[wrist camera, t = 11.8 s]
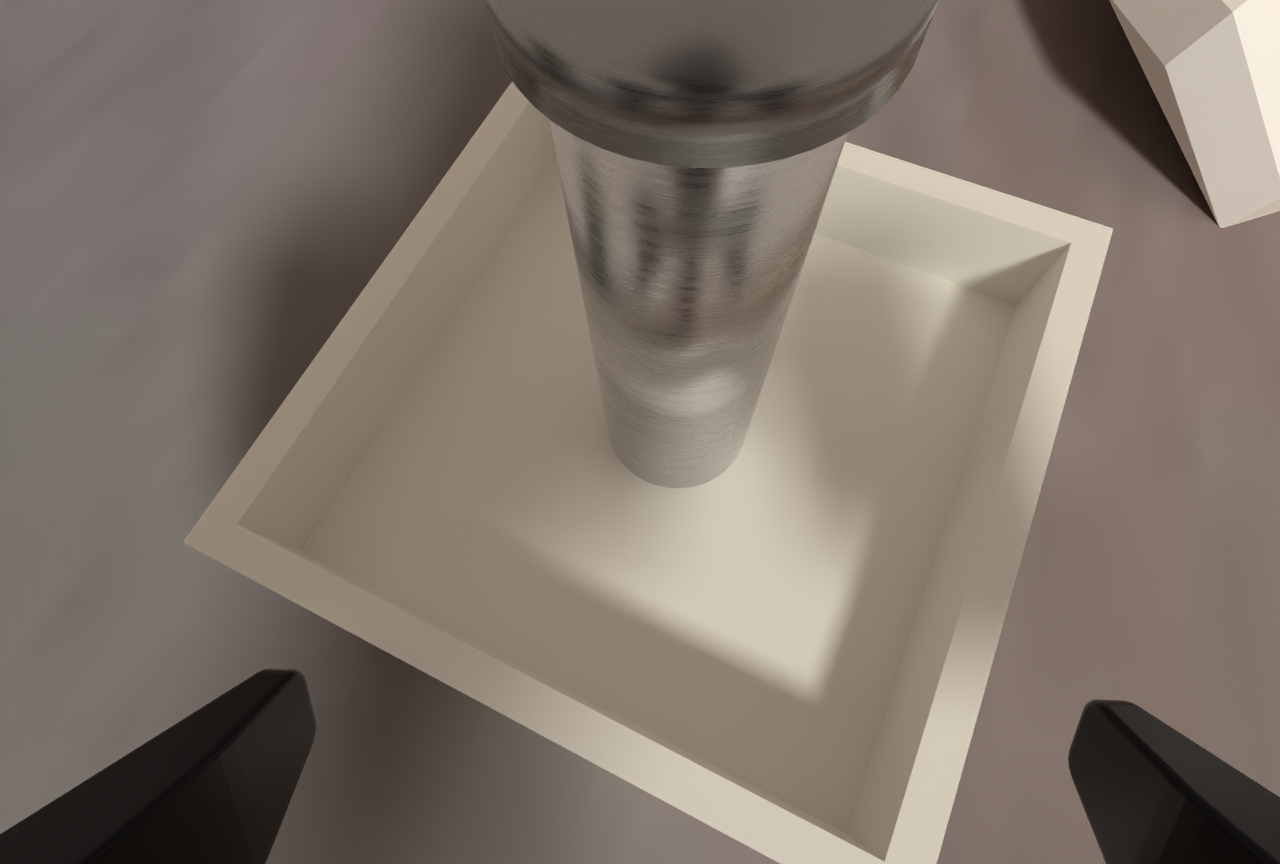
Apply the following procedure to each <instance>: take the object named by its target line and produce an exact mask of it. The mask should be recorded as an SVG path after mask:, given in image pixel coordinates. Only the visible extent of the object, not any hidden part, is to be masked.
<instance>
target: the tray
mask: <svg viewBox="0 0 1280 864" xmlns="http://www.w3.org/2000/svg"><path fill="white" fill-rule="evenodd" d="M1112 231H1113V228H1110V227H1106V226H1103V225H1100V224H1097V223H1094V222H1091V221H1088V220H1085V219H1082V218H1079V217H1076V216H1073V215H1069V214H1066V213H1063V212H1060V211H1057V210H1054V209H1051V208H1048V207H1045V206H1042V205H1039V204H1035V203H1032V202H1029V201H1026V200H1023V199H1020V198H1017V197H1014V196H1011V195H1008V194H1005V193H1001V192H998V191H995V190H992V189H989V188H986V187H983V186H980V185H977V184H974V183H971V182H968V181H964V180H961V179H958V178H955V177H952V176H949V175H946V174H943V173H940V172H937V171H934V170H930V169H927V168H924V167H921V166H918V165H915V164H912V163H909V162H906V161H903V160H900V159H896V158H893V157H890V156H887V155H884V154H881V153H878V152H875V151H872V150H869V149H866V148H863V147H859V146H856V145H853V144H850V143H847V142H845V143H844V146H843V149H842V152H841V155H840V158H839V161H838V164H837V167H836V170H835V173H834V176H833V179H832V182H831V185H830V188H829V191H828V194H827V197H826V200H825V203H824V206H823V209H822V212H821V215H820V218H819V221H818V224H817V227H816V230H815V233H814V235H813V238H812V241H811V244H810V247H809V250H808V253H807V256H806V259H805V262H804V265H803V268H802V271H801V274H800V277H799V280H798V283H797V286H796V289H795V292H794V295H793V298H792V301H791V304H790V307H789V310H788V313H787V316H786V319H785V322H784V325H783V328H782V331H781V334H780V337H779V340H778V343H777V346H776V348H775V351H774V354H773V357H772V360H771V363H770V366H769V369H768V372H767V375H766V378H765V381H764V384H763V387H762V390H761V393H760V396H759V399H758V402H757V405H756V408H755V411H754V414H753V417H752V420H751V423H750V426H749V429H748V432H747V435H746V438H745V441H744V444H743V446H742V448H741V451H740V453H739V454H738V456H737V458H736V459H735V461H734V462H733V463H732V464H731V466H730V467H729V468H728V469H727V470H726V471H724V472H723V473H722V474H721V475H719V476H718V477H716V478H715V479H713V480H711V481H709V482H707V483H704V484H701V485H698V486H694V487H689V488H667V487H661V486H658V485H654V484H651V483H649V482H647V481H644V480H643V479H641V478H639V477H637V476H636V475H635V474H633V473H632V472H631V471H630V470H629V469H628V468H627V467H626V466H625V465H624V464H623V463H622V462H621V461H620V459H619V458H618V456H617V455H616V453H615V451H614V449H613V447H612V444H611V442H610V438H609V433H608V428H607V423H606V418H605V412H604V407H603V402H602V396H601V391H600V386H599V381H598V375H597V370H596V365H595V359H594V354H593V349H592V343H591V338H590V333H589V328H588V322H587V317H586V312H585V306H584V301H583V296H582V290H581V285H580V280H579V275H578V269H577V264H576V259H575V253H574V248H573V243H572V237H571V232H570V227H569V222H568V216H567V211H566V206H565V200H564V195H563V190H562V184H561V179H560V174H559V169H558V163H557V158H556V153H555V147H554V142H553V137H552V131H551V126H550V121H549V119H548V118H547V117H546V116H545V115H544V114H542V113H541V112H540V111H539V110H538V109H536V108H535V107H534V106H533V105H532V104H531V103H530V102H529V101H528V100H527V98H526V97H525V96H524V95H523V94H522V93H521V92H520V91H519V90H518V88H517V87H516V86H515V84H514V82H513V81H512V82H511V84H510V85H509V86H508V88H507V89H506V91H505V92H504V93H503V95H502V96H501V98H500V99H499V100H498V102H497V103H496V105H495V106H494V107H493V109H492V110H491V112H490V113H489V114H488V116H487V117H486V119H485V120H484V121H483V123H482V124H481V126H480V127H479V128H478V130H477V131H476V133H475V134H474V135H473V137H472V138H471V140H470V141H469V142H468V144H467V145H466V147H465V148H464V149H463V151H462V152H461V154H460V155H459V156H458V158H457V159H456V161H455V162H454V163H453V165H452V166H451V168H450V169H449V170H448V172H447V173H446V175H445V176H444V177H443V179H442V180H441V182H440V183H439V184H438V186H437V187H436V189H435V190H434V191H433V193H432V194H431V196H430V197H429V198H428V200H427V201H426V203H425V204H424V205H423V207H422V208H421V210H420V211H419V212H418V214H417V215H416V217H415V218H414V219H413V221H412V222H411V224H410V225H409V226H408V228H407V229H406V231H405V232H404V233H403V235H402V236H401V238H400V239H399V240H398V242H397V243H396V245H395V246H394V247H393V249H392V250H391V252H390V253H389V254H388V256H387V257H386V259H385V260H384V261H383V263H382V264H381V266H380V267H379V268H378V270H377V271H376V273H375V274H374V275H373V277H372V278H371V280H370V281H369V282H368V284H367V285H366V287H365V288H364V289H363V291H362V292H361V294H360V295H359V296H358V298H357V299H356V301H355V302H354V303H353V305H352V306H351V308H350V309H349V310H348V312H347V313H346V315H345V316H344V317H343V319H342V320H341V322H340V323H339V324H338V326H337V327H336V329H335V330H334V331H333V333H332V334H331V336H330V337H329V338H328V340H327V341H326V343H325V344H324V345H323V347H322V348H321V350H320V351H319V352H318V354H317V355H316V357H315V358H314V359H313V361H312V362H311V364H310V365H309V366H308V368H307V369H306V371H305V372H304V373H303V375H302V376H301V378H300V379H299V380H298V382H297V383H296V385H295V386H294V387H293V389H292V390H291V392H290V393H289V394H288V396H287V397H286V399H285V400H284V401H283V403H282V404H281V406H280V407H279V408H278V410H277V411H276V413H275V414H274V415H273V417H272V418H271V420H270V421H269V422H268V424H267V425H266V427H265V428H264V429H263V431H262V432H261V434H260V435H259V436H258V438H257V439H256V441H255V442H254V443H253V445H252V446H251V448H250V449H249V450H248V452H247V453H246V455H245V456H244V457H243V459H242V460H241V462H240V463H239V464H238V466H237V467H236V469H235V470H234V471H233V473H232V474H231V476H230V477H229V478H228V480H227V481H226V483H225V484H224V485H223V487H222V488H221V490H220V491H219V492H218V494H217V495H216V497H215V498H214V499H213V501H212V502H211V504H210V505H209V506H208V508H207V509H206V511H205V512H204V513H203V515H202V516H201V518H200V519H199V520H198V522H197V523H196V525H195V526H194V527H193V529H192V530H191V532H190V533H189V534H188V536H187V537H186V539H185V540H184V541H183V543H185V544H187V545H188V546H190V547H192V548H194V549H196V550H198V551H200V552H201V553H203V554H205V555H207V556H209V557H211V558H213V559H214V560H216V561H218V562H220V563H222V564H224V565H226V566H228V567H229V568H231V569H233V570H235V571H237V572H239V573H241V574H242V575H244V576H246V577H248V578H250V579H252V580H254V581H255V582H257V583H259V584H261V585H263V586H265V587H267V588H268V589H270V590H272V591H274V592H276V593H278V594H280V595H281V596H283V597H285V598H287V599H289V600H291V601H293V602H295V603H296V604H298V605H300V606H302V607H304V608H306V609H308V610H309V611H311V612H313V613H315V614H317V615H319V616H321V617H322V618H324V619H326V620H328V621H330V622H332V623H334V624H335V625H337V626H339V627H341V628H343V629H345V630H347V631H348V632H350V633H352V634H354V635H356V636H358V637H360V638H362V639H363V640H365V641H367V642H369V643H371V644H373V645H375V646H376V647H378V648H380V649H382V650H384V651H386V652H388V653H389V654H391V655H393V656H395V657H397V658H399V659H401V660H402V661H404V662H406V663H408V664H410V665H412V666H414V667H415V668H417V669H419V670H421V671H423V672H425V673H427V674H429V675H430V676H432V677H434V678H436V679H438V680H440V681H442V682H443V683H445V684H447V685H449V686H451V687H453V688H455V689H456V690H458V691H460V692H462V693H464V694H466V695H468V696H469V697H471V698H473V699H475V700H477V701H479V702H481V703H482V704H484V705H486V706H488V707H490V708H492V709H494V710H496V711H497V712H499V713H501V714H503V715H505V716H507V717H509V718H510V719H512V720H514V721H516V722H518V723H520V724H522V725H523V726H525V727H527V728H529V729H531V730H533V731H535V732H536V733H538V734H540V735H542V736H544V737H546V738H548V739H549V740H551V741H553V742H555V743H557V744H559V745H561V746H563V747H564V748H566V749H568V750H570V751H572V752H574V753H576V754H577V755H579V756H581V757H583V758H585V759H587V760H589V761H590V762H592V763H594V764H596V765H598V766H600V767H602V768H603V769H605V770H607V771H609V772H611V773H613V774H615V775H616V776H618V777H620V778H622V779H624V780H626V781H628V782H630V783H631V784H633V785H635V786H637V787H639V788H641V789H643V790H644V791H646V792H648V793H650V794H652V795H654V796H656V797H657V798H659V799H661V800H663V801H665V802H667V803H669V804H670V805H672V806H674V807H676V808H678V809H680V810H682V811H684V812H685V813H687V814H689V815H691V816H693V817H695V818H697V819H698V820H700V821H702V822H704V823H706V824H708V825H710V826H711V827H713V828H715V829H717V830H719V831H721V832H723V833H724V834H726V835H728V836H730V837H732V838H734V839H736V840H737V841H739V842H741V843H743V844H745V845H747V846H749V847H751V848H752V849H754V850H756V851H758V852H760V853H762V854H764V855H765V856H767V857H769V858H771V859H773V860H775V861H777V862H778V863H780V864H936V863H937V860H938V856H939V853H940V849H941V845H942V842H943V838H944V835H945V831H946V827H947V824H948V820H949V817H950V813H951V810H952V806H953V802H954V799H955V795H956V792H957V788H958V784H959V781H960V777H961V774H962V770H963V766H964V763H965V759H966V756H967V752H968V748H969V745H970V741H971V738H972V734H973V730H974V727H975V723H976V720H977V716H978V713H979V709H980V705H981V702H982V698H983V695H984V691H985V687H986V684H987V680H988V677H989V673H990V669H991V666H992V662H993V659H994V655H995V651H996V648H997V644H998V641H999V637H1000V634H1001V630H1002V626H1003V623H1004V619H1005V616H1006V612H1007V608H1008V605H1009V601H1010V598H1011V594H1012V590H1013V587H1014V583H1015V580H1016V576H1017V572H1018V569H1019V565H1020V562H1021V558H1022V554H1023V551H1024V547H1025V544H1026V540H1027V537H1028V533H1029V529H1030V526H1031V522H1032V519H1033V515H1034V511H1035V508H1036V504H1037V501H1038V497H1039V493H1040V490H1041V486H1042V483H1043V479H1044V475H1045V472H1046V468H1047V465H1048V461H1049V457H1050V454H1051V450H1052V447H1053V443H1054V440H1055V436H1056V432H1057V429H1058V425H1059V422H1060V418H1061V414H1062V411H1063V407H1064V404H1065V400H1066V396H1067V393H1068V389H1069V386H1070V382H1071V378H1072V375H1073V371H1074V368H1075V364H1076V360H1077V357H1078V353H1079V350H1080V346H1081V343H1082V339H1083V335H1084V332H1085V328H1086V325H1087V321H1088V317H1089V314H1090V310H1091V307H1092V303H1093V299H1094V296H1095V292H1096V289H1097V285H1098V281H1099V278H1100V274H1101V271H1102V267H1103V263H1104V260H1105V256H1106V253H1107V249H1108V246H1109V242H1110V238H1111V235H1112Z"/></svg>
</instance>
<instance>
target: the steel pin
mask: <svg viewBox="0 0 1280 864" xmlns="http://www.w3.org/2000/svg"><path fill="white" fill-rule="evenodd" d="M484 2H485V6H486V10H487V14H488V18H489V22H490V26H491V30H492V34H493V38H494V42H495V46H496V49H497V52H498V54H499V57H500V59H501V61H502V64H503V66H504V68H505V70H506V72H507V73H508V75H509V76H510V78H511V79H512V81H513V82H514V84H515V86H516V87H517V88H518V90H519V91H520V92H521V93H522V94H523V95H524V96H525V97H526V98H527V100H528V101H529V102H530V103H531V104H532V105H533V106H534V107H535V108H536V109H538V110H539V111H540V112H541V113H542V114H544V115H545V116H546V117H547V118H548V119H549V121H550V126H551V131H552V137H553V142H554V147H555V153H556V158H557V163H558V169H559V174H560V179H561V184H562V190H563V195H564V200H565V206H566V211H567V216H568V222H569V227H570V232H571V237H572V243H573V248H574V253H575V259H576V264H577V269H578V275H579V280H580V285H581V290H582V296H583V301H584V306H585V312H586V317H587V322H588V328H589V333H590V338H591V343H592V349H593V354H594V359H595V365H596V370H597V375H598V381H599V386H600V391H601V396H602V402H603V407H604V412H605V418H606V423H607V428H608V433H609V438H610V442H611V444H612V447H613V449H614V451H615V453H616V455H617V456H618V458H619V459H620V461H621V462H622V463H623V464H624V465H625V466H626V467H627V468H628V469H629V470H630V471H631V472H632V473H633V474H635V475H636V476H637V477H639V478H641V479H643V480H644V481H647V482H649V483H651V484H654V485H658V486H661V487H667V488H689V487H694V486H698V485H701V484H704V483H707V482H709V481H711V480H713V479H715V478H716V477H718V476H719V475H721V474H722V473H723V472H724V471H726V470H727V469H728V468H729V467H730V466H731V464H732V463H733V462H734V461H735V459H736V458H737V456H738V454H739V453H740V451H741V448H742V446H743V444H744V441H745V438H746V435H747V432H748V429H749V426H750V423H751V420H752V417H753V414H754V411H755V408H756V405H757V402H758V399H759V396H760V393H761V390H762V387H763V384H764V381H765V378H766V375H767V372H768V369H769V366H770V363H771V360H772V357H773V354H774V351H775V348H776V346H777V343H778V340H779V337H780V334H781V331H782V328H783V325H784V322H785V319H786V316H787V313H788V310H789V307H790V304H791V301H792V298H793V295H794V292H795V289H796V286H797V283H798V280H799V277H800V274H801V271H802V268H803V265H804V262H805V259H806V256H807V253H808V250H809V247H810V244H811V241H812V238H813V235H814V233H815V230H816V227H817V224H818V221H819V218H820V215H821V212H822V209H823V206H824V203H825V200H826V197H827V194H828V191H829V188H830V185H831V182H832V179H833V176H834V173H835V170H836V167H837V164H838V161H839V158H840V155H841V152H842V149H843V146H844V143H845V140H846V137H847V134H848V132H849V131H851V130H852V129H854V128H855V127H857V126H859V125H860V124H862V123H863V122H865V121H866V120H867V119H868V118H870V117H871V116H872V115H873V114H874V113H876V112H877V111H878V110H879V109H880V108H882V107H883V106H884V105H885V104H886V103H887V101H888V100H889V99H890V98H891V97H892V96H893V95H894V94H895V92H896V91H897V90H898V89H899V88H900V86H901V85H902V83H903V82H904V80H905V79H906V77H907V75H908V74H909V72H910V71H911V69H912V67H913V65H914V62H915V60H916V57H917V55H918V52H919V50H920V48H921V45H922V43H923V40H924V38H925V35H926V33H927V30H928V28H929V25H930V23H931V20H932V18H933V15H934V13H935V10H936V8H937V5H938V3H939V0H484Z"/></svg>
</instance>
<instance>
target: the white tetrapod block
mask: <svg viewBox="0 0 1280 864" xmlns="http://www.w3.org/2000/svg"><path fill="white" fill-rule="evenodd" d="M1109 1H1110V3H1111V5H1112V7H1113V9H1114V11H1115V13H1116V15H1117V18H1118V20H1119V22H1120V24H1121V26H1122V28H1123V30H1124V32H1125V34H1126V36H1127V38H1128V40H1129V42H1130V44H1131V46H1132V49H1133V51H1134V53H1135V55H1136V57H1137V59H1138V61H1139V63H1140V65H1141V67H1142V69H1143V71H1144V73H1145V75H1146V77H1147V79H1148V82H1149V84H1150V86H1151V88H1152V90H1153V92H1154V94H1155V96H1156V98H1157V100H1158V102H1159V104H1160V106H1161V108H1162V110H1163V112H1164V115H1165V117H1166V119H1167V121H1168V123H1169V125H1170V127H1171V129H1172V131H1173V133H1174V135H1175V137H1176V139H1177V141H1178V143H1179V145H1180V148H1181V150H1182V152H1183V154H1184V156H1185V158H1186V160H1187V162H1188V164H1189V166H1190V168H1191V170H1192V172H1193V174H1194V176H1195V178H1196V181H1197V183H1198V185H1199V187H1200V189H1201V191H1202V193H1203V195H1204V197H1205V199H1206V201H1207V203H1208V205H1209V207H1210V209H1211V211H1212V214H1213V216H1214V218H1215V220H1216V222H1217V224H1218V225H1219V227H1221V228H1224V227H1228V226H1231V225H1234V224H1238V223H1241V222H1244V221H1248V220H1251V219H1254V218H1258V217H1261V216H1264V215H1268V214H1271V213H1274V212H1278V211H1280V0H1109Z"/></svg>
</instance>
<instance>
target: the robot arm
mask: <svg viewBox="0 0 1280 864" xmlns="http://www.w3.org/2000/svg"><path fill="white" fill-rule="evenodd" d="M315 730H316V723H315V717H314V713H313V709H312V705H311V700H310V696H309V692H308V688H307V684H306V680H305V677H304V675H303V674H302V673H301V672H300V671H298V670H295V669H265V670H262V671H260V672H258V673H256V674H255V675H253V676H252V677H250V678H248V679H247V680H245V681H244V682H242V683H240V684H239V685H237V686H236V687H234V688H232V689H231V690H229V691H228V692H226V693H224V694H223V695H221V696H220V697H218V698H216V699H215V700H213V701H212V702H210V703H209V704H207V705H205V706H204V707H202V708H201V709H199V710H197V711H196V712H194V713H193V714H191V715H189V716H188V717H186V718H185V719H183V720H181V721H180V722H178V723H177V724H175V725H173V726H172V727H170V728H169V729H167V730H166V731H164V732H162V733H161V734H159V735H158V736H156V737H154V738H153V739H151V740H150V741H148V742H146V743H145V744H143V745H142V746H140V747H138V748H137V749H135V750H134V751H132V752H131V753H129V754H127V755H126V756H124V757H123V758H121V759H119V760H118V761H116V762H115V763H113V764H111V765H110V766H108V767H107V768H105V769H103V770H102V771H100V772H99V773H97V774H95V775H94V776H92V777H91V778H89V779H88V780H86V781H84V782H83V783H81V784H80V785H78V786H76V787H75V788H73V789H72V790H70V791H68V792H67V793H65V794H64V795H62V796H60V797H59V798H57V799H56V800H54V801H53V802H51V803H49V804H48V805H46V806H45V807H43V808H41V809H40V810H38V811H37V812H35V813H33V814H32V815H30V816H29V817H27V818H25V819H24V820H22V821H21V822H19V823H17V824H16V825H14V826H13V827H11V828H9V829H8V830H6V831H5V832H3V833H2V834H0V864H265V863H266V861H267V859H268V856H269V854H270V851H271V849H272V846H273V844H274V841H275V839H276V836H277V833H278V831H279V828H280V826H281V823H282V821H283V818H284V816H285V813H286V810H287V808H288V805H289V803H290V800H291V798H292V795H293V793H294V790H295V787H296V785H297V782H298V780H299V777H300V775H301V772H302V770H303V767H304V764H305V762H306V759H307V757H308V754H309V752H310V749H311V747H312V744H313V741H314V736H315ZM1068 762H1069V769H1070V773H1071V776H1072V779H1073V782H1074V784H1075V787H1076V789H1077V792H1078V794H1079V797H1080V800H1081V802H1082V805H1083V807H1084V810H1085V812H1086V815H1087V817H1088V820H1089V822H1090V825H1091V827H1092V830H1093V832H1094V835H1095V837H1096V840H1097V843H1098V845H1099V848H1100V850H1101V853H1102V855H1103V858H1104V860H1105V863H1106V864H1280V797H1278V796H1277V795H1275V794H1274V793H1272V792H1271V791H1269V790H1267V789H1266V788H1264V787H1263V786H1261V785H1260V784H1258V783H1257V782H1255V781H1254V780H1252V779H1250V778H1249V777H1247V776H1246V775H1244V774H1243V773H1241V772H1240V771H1238V770H1236V769H1235V768H1233V767H1232V766H1230V765H1229V764H1227V763H1226V762H1224V761H1222V760H1221V759H1219V758H1218V757H1216V756H1215V755H1213V754H1212V753H1210V752H1208V751H1207V750H1205V749H1204V748H1202V747H1201V746H1199V745H1198V744H1196V743H1195V742H1193V741H1191V740H1190V739H1188V738H1187V737H1185V736H1184V735H1182V734H1181V733H1179V732H1177V731H1176V730H1174V729H1173V728H1171V727H1170V726H1168V725H1167V724H1165V723H1163V722H1162V721H1160V720H1159V719H1157V718H1156V717H1154V716H1153V715H1151V714H1149V713H1148V712H1146V711H1145V710H1143V709H1142V708H1140V707H1139V706H1137V705H1135V704H1133V703H1131V702H1127V701H1118V700H1092V701H1090V702H1088V703H1087V704H1086V705H1085V707H1084V709H1083V712H1082V714H1081V717H1080V720H1079V723H1078V726H1077V729H1076V732H1075V735H1074V738H1073V741H1072V744H1071V747H1070V750H1069V757H1068Z"/></svg>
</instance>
